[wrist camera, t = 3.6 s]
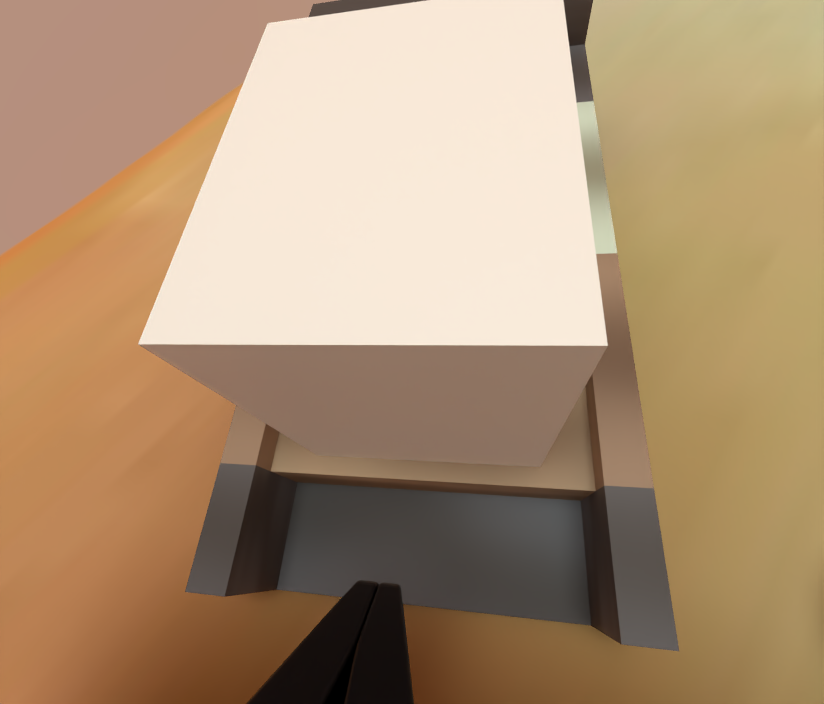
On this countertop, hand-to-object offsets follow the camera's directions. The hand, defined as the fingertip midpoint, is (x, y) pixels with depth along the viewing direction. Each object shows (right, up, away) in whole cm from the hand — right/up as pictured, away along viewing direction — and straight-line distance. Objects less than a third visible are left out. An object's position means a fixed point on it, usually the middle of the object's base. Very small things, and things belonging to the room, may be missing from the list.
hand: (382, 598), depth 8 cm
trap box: (+2, +7, +11) cm, 13 cm away
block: (+1, +5, +7) cm, 9 cm away
